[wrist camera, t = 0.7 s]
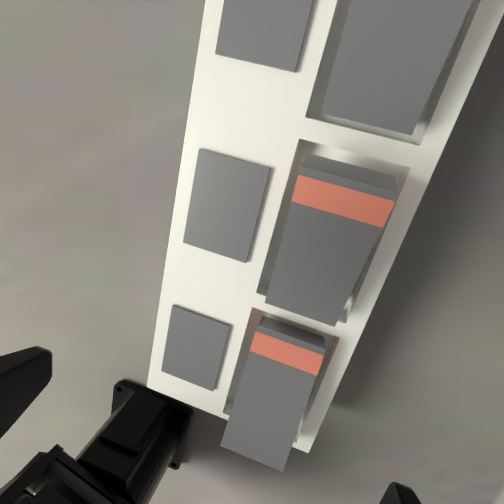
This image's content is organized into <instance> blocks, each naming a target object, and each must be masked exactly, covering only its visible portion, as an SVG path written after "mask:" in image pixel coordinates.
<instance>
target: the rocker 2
mask: <svg viewBox="0 0 504 504" xmlns="http://www.w3.org/2000/svg"><path fill="white" fill-rule="evenodd" d="M472 1H473V0H352V1H351V4H350V8H349V11H348V15H347V19H346V22H345V26H344V29H343V33H342V37H341V40H340V44H339V47H338V51H337V55H336V58H335V62H334V65H333V69H332V73H331V76H330V80H329V84H328V87H327V91H326V94H325V98H324V102H323V105H322V109H321V112H320V113H322V114H326V115H330V116H334V117H338V118H342V119H347V120H351V121H355V122H359V123H363V124H367V125H371V126H375V127H379V128H383V129H387V130H391V131H395V132H399V133H403V134H407V135H411V136H412V134H413V131H414V129H415V127H416V125H417V123H418V120H419V118H420V116H421V114H422V111H423V109H424V107H425V105H426V103H427V100H428V98H429V96H430V94H431V92H432V89H433V87H434V85H435V83H436V80H437V78H438V76H439V74H440V72H441V69H442V67H443V65H444V63H445V61H446V58H447V56H448V54H449V52H450V49H451V47H452V45H453V43H454V41H455V38H456V36H457V34H458V32H459V30H460V27H461V25H462V23H463V21H464V18H465V16H466V14H467V12H468V10H469V7H470V5H471V3H472Z"/></svg>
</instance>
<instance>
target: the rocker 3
mask: <svg viewBox="0 0 504 504" xmlns="http://www.w3.org/2000/svg"><path fill="white" fill-rule="evenodd" d="M398 193H399V192H398V187H397V182H396V177H395V176H393V175H389V174H385V173H381V172H378V171H374V170H370V169H366V168H363V167H359V166H355V165H351V164H348V163H344V162H340V161H336V160H333V159H329V158H325V157H321V156H318V155H314V154H310V153H308V155H307V157H306V158H305V160H304V162H303V164H302V166H301V169H300V172H299V174H298V178H297V181H296V185H295V189H294V193H293V196H292V200H291V201H292V202H291V206H290V210H289V214H288V217H287V221H286V225H285V228H284V232H283V236H282V240H281V243H280V247H279V251H278V254H277V258H276V262H275V266H274V269H273V273H272V277H271V280H270V284H269V288H268V292H267V295H266V299H265V303H266V304H269V305H272V306H275V307H278V308H281V309H284V310H287V311H290V312H292V313H295V314H298V315H301V316H304V317H307V318H310V319H313V320H316V321H319V322H321V323H324V324H327V325H330V326H333V327H335V325H336V323H337V321H338V319H339V317H340V315H341V313H342V311H343V308H344V306H345V304H346V302H347V300H348V298H349V296H350V294H351V292H352V290H353V287H354V285H355V283H356V281H357V279H358V277H359V275H360V273H361V271H362V269H363V266H364V264H365V262H366V260H367V258H368V256H369V254H370V252H371V250H372V248H373V246H374V243H375V241H376V239H377V237H378V235H379V233H380V231H381V229H382V228H383V226H384V224H385V222H386V220H387V218H388V216H389V214H390V212H391V210H392V207H393V205H394V203H395V199H396V197H397V195H398Z"/></svg>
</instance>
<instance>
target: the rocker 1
mask: <svg viewBox="0 0 504 504" xmlns="http://www.w3.org/2000/svg"><path fill="white" fill-rule="evenodd" d="M325 350H326V348H325V339H324V337H323V336H320V335H317V334H314V333H312V332H309V331H306V330H303V329H300V328H297V327H295V326H292V325H289V324H286V323H283V322H280V321H278V320H275V319H272V318H269V317H266V316H262V318H261V320H260V322H259V324H258V326H257V329H256V331H255V334H254V338H253V341H252V344H251V347H250V350H249V351H250V352H249V355H248V358H247V361H246V365H245V368H244V371H243V374H242V377H241V381H240V384H239V387H238V390H237V393H236V397H235V400H234V403H233V406H232V409H231V412H230V416H229V419H228V422H227V425H226V428H225V432H224V435H223V438H222V441H221V444H220V446H222V447H224V448H226V449H229V450H231V451H233V452H236V453H238V454H240V455H243V456H245V457H247V458H250V459H252V460H255V461H257V462H259V463H262V464H264V465H266V466H269V467H271V468H273V469H276V470H278V471H280V472H283V471H284V468H285V465H286V462H287V459H288V456H289V453H290V450H291V448H292V445H293V442H294V439H295V436H296V433H297V430H298V427H299V425H300V422H301V419H302V416H303V413H304V410H305V407H306V404H307V402H308V399H309V396H310V393H311V390H312V387H313V384H314V381H315V379H316V376H317V374H318V372H319V369H320V366H321V363H322V360H323V357H324V353H325Z"/></svg>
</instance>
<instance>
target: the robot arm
mask: <svg viewBox="0 0 504 504" xmlns="http://www.w3.org/2000/svg"><path fill="white" fill-rule="evenodd" d="M51 377H52V353H51V351H50V350H47V349H45V348H42V347H39V346H35V347H31V348H27V349H24V350H20V351H17V352H13V353H10V354H6V355H3V356H0V438H1V437H2V436H3V435H4V434H5V433H6V432H7V431H8V430H9V429H10V427H11V426H12V425H13V424H14V423H15V422H16V420H17V419H18V418H19V417H20V416H21V415H22V413H23V412H24V411H25V410H26V409H27V408H28V406H29V405H30V404H31V403H32V402H33V401H34V400H35V398H36V397H37V396H38V395H39V394H40V393H41V391H42V390H43V389H44V388H45V387H46V386H47V384H48V383H49V381H50V380H51ZM192 416H193V412H192V410H191V409H189V408H188V407H185V406H183V405H180V404H178V403H175V402H173V401H171V400H168V399H166V398H163V397H161V396H158V395H156V394H154V393H151V392H149V391H146V390H144V389H141V388H139V387H137V386H134V385H132V384H129V383H127V382H124V381H118V382H117V383H116V384H115V386H114V392H113V401H112V411H111V416H110V417H109V419H108V420H107V421H106V422H105V423H104V425H103V426H102V427H101V428H100V429H99V431H98V432H97V433H96V434H95V435H94V437H93V438H92V439H91V440H90V441H89V443H88V444H87V445H86V446H85V447H84V449H83V450H82V451H81V452H80V453H79V455H78V456H77V457H76V458H75V459H73V458H72V457H71V456H69V455H68V454H67V453H65V452H64V451H63V450H64V449H63V448H62V447H61V446H59V445H58V444H56V445H55V446H54V447H53V448H52V449H51V450H50V451H49V452H48V453H45V452H39V453H38V454H37V455H36V456H35V457H34V458H33V459H32V460H31V461H30V462H29V463H28V464H27V465H26V466H25V467H24V468H23V469H22V470H21V471H20V472H19V473H18V474H17V475H16V476H15V477H14V478H13V479H12V480H10V481H9V482H8V483H7V484H6V485H4V486H3V487H2V488H1V489H0V504H149V502H150V500H151V498H152V496H153V494H154V492H155V490H156V488H157V486H158V485H159V483H160V481H161V479H162V477H163V475H164V473H165V471H166V469H167V467H170V468H172V469H175V470H177V469H179V467H180V465H181V463H182V459H183V455H184V450H185V446H186V442H187V437H188V433H189V429H190V424H191V420H192ZM34 492H35V493H36V495H35V496H34V495H33V493H34ZM379 504H421V502H420V501H419V499H418V497H417V496H416V494H415V493H414V491H413V490H412V489H411V488H409V487H407V486H405V485H402V484H400V483H397V482H392V483H390V485H389V487H388V488H387V490H386V492H385V494H384V496H383V498H382V499H381V501H380V503H379Z"/></svg>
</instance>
